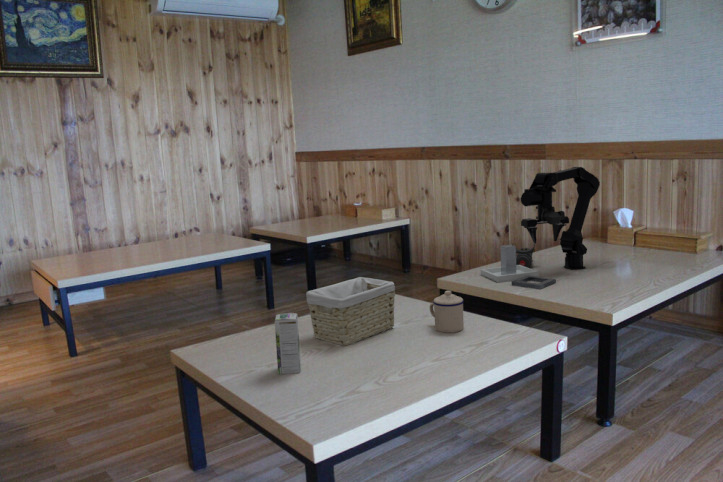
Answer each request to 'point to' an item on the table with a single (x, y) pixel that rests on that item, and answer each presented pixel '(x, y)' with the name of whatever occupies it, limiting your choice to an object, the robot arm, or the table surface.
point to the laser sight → (524, 256)
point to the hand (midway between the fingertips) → (545, 242)
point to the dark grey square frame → (524, 283)
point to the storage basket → (351, 310)
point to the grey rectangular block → (508, 259)
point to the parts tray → (496, 275)
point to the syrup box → (287, 343)
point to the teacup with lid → (448, 313)
